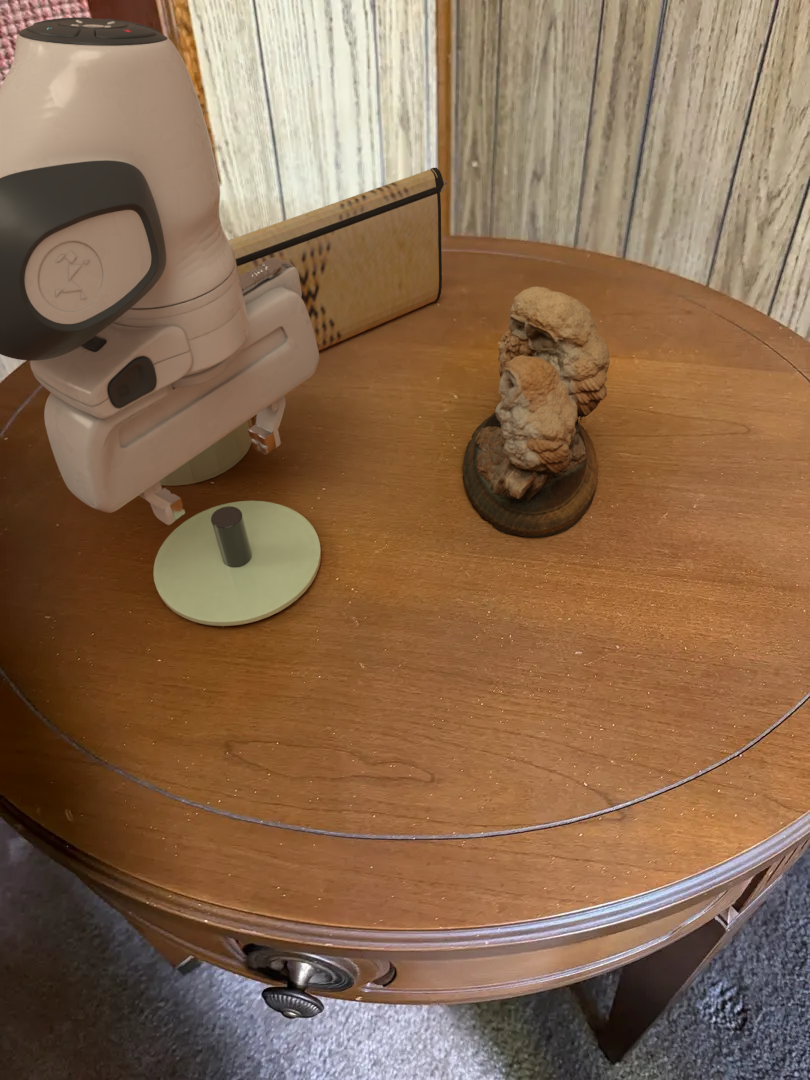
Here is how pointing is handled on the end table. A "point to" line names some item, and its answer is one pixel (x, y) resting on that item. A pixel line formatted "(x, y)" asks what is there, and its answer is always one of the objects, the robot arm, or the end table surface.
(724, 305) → the end table surface
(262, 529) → the lid
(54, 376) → the robot arm
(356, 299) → the clutch purse
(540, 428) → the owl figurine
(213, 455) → the pot
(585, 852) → the end table surface
